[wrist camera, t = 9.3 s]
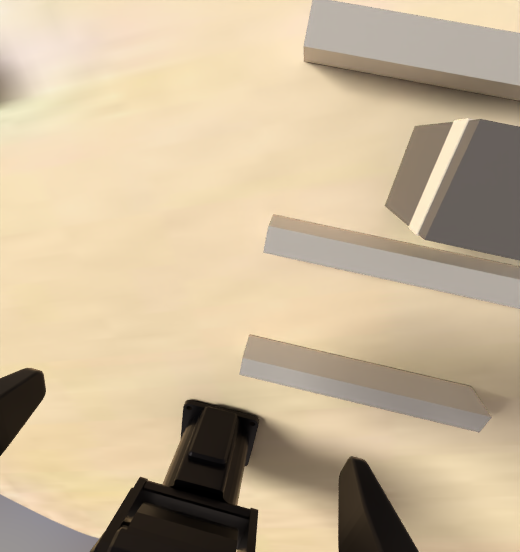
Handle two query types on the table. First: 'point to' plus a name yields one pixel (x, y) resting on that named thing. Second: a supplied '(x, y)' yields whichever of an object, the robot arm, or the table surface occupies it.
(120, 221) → the table surface
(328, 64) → the grey rectangular bars
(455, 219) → the grey capped block
